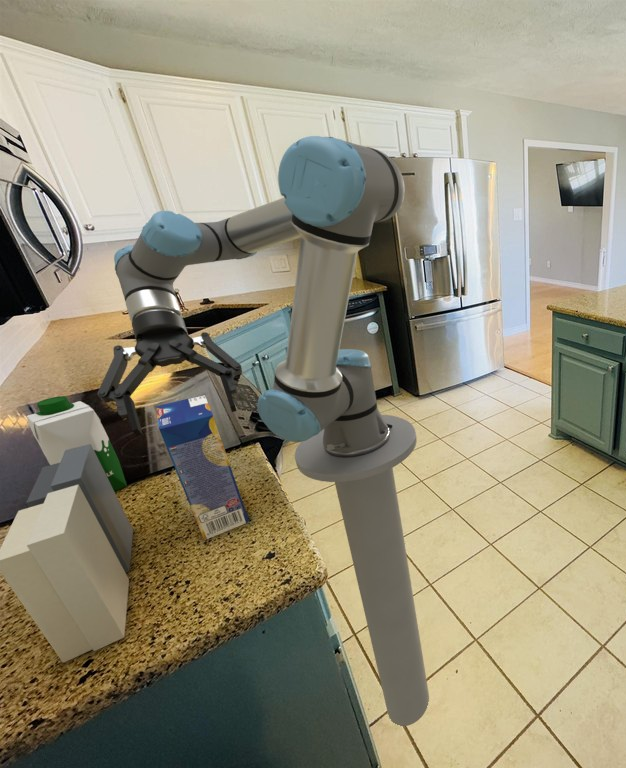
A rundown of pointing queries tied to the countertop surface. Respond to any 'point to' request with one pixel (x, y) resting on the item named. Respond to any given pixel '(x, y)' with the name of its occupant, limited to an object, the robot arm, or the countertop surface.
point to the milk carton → (74, 434)
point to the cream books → (66, 574)
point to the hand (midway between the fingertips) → (188, 420)
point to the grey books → (89, 496)
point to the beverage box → (202, 465)
